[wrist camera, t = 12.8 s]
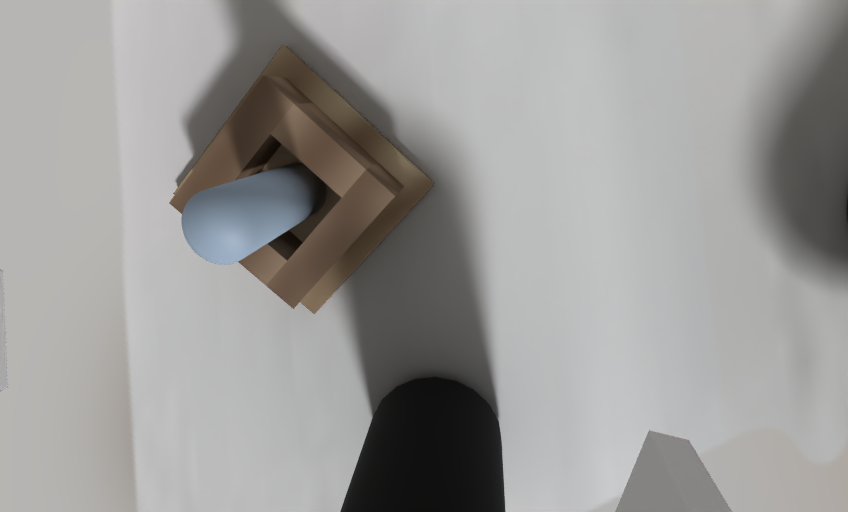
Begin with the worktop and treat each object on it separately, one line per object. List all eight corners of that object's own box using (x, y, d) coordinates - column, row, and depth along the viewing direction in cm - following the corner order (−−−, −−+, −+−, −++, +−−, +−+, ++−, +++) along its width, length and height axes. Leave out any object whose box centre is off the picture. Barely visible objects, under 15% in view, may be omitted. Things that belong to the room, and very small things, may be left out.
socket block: (434, 183, 38) (427, 195, 33) (317, 310, 42) (297, 336, 37) (286, 46, 36) (258, 38, 31) (179, 191, 40) (140, 203, 35)
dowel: (337, 188, 38) (270, 226, 26) (304, 227, 39) (227, 279, 27) (295, 150, 37) (209, 172, 26) (263, 191, 38) (167, 228, 27)
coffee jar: (398, 490, 46) (349, 722, 29) (356, 387, 43) (274, 575, 26) (516, 465, 44) (537, 699, 27) (478, 356, 41) (476, 537, 24)
